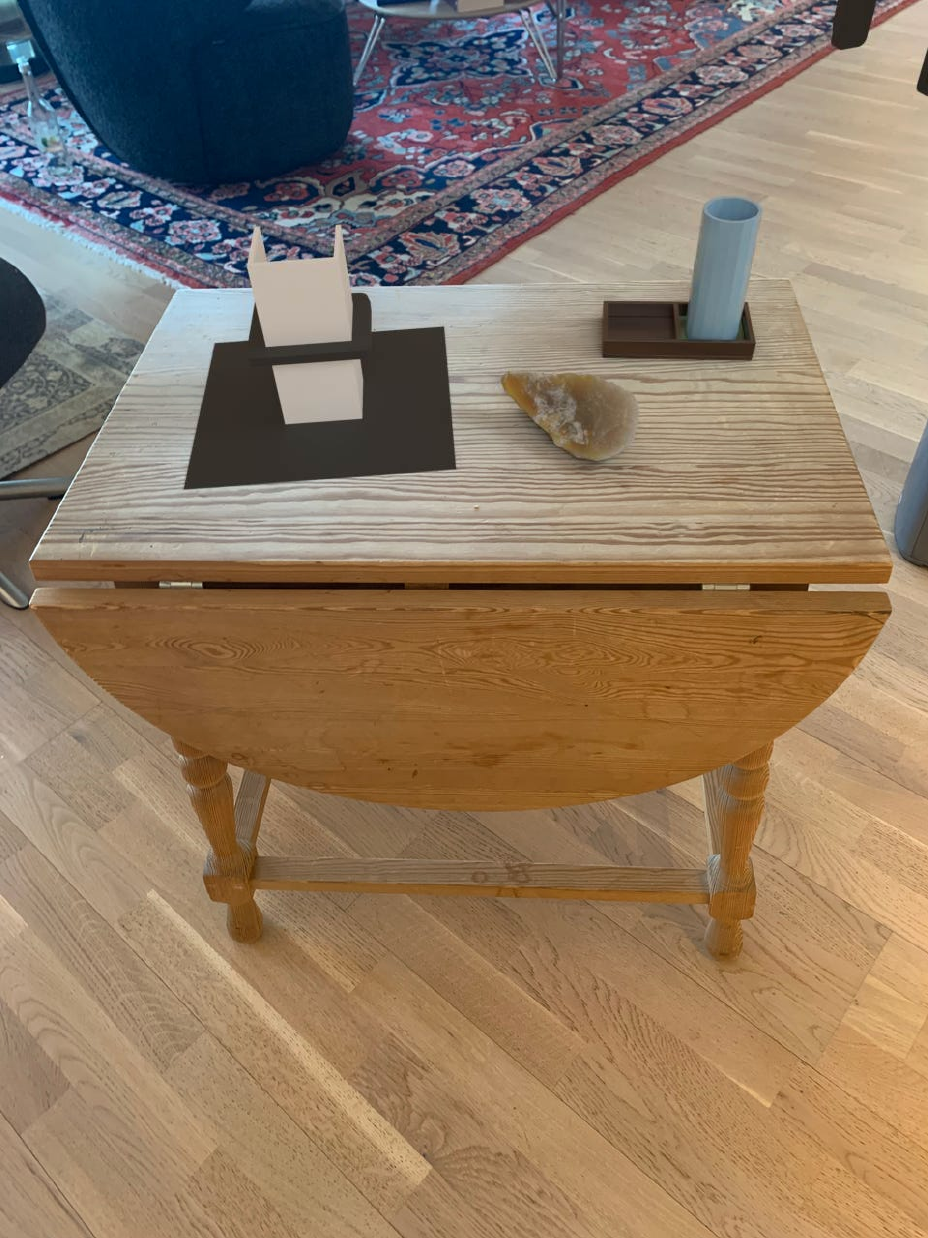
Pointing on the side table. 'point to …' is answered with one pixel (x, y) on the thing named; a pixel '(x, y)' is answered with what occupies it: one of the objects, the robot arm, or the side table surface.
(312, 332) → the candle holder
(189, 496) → the side table surface
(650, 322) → the tray
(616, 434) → the stone
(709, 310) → the cup
